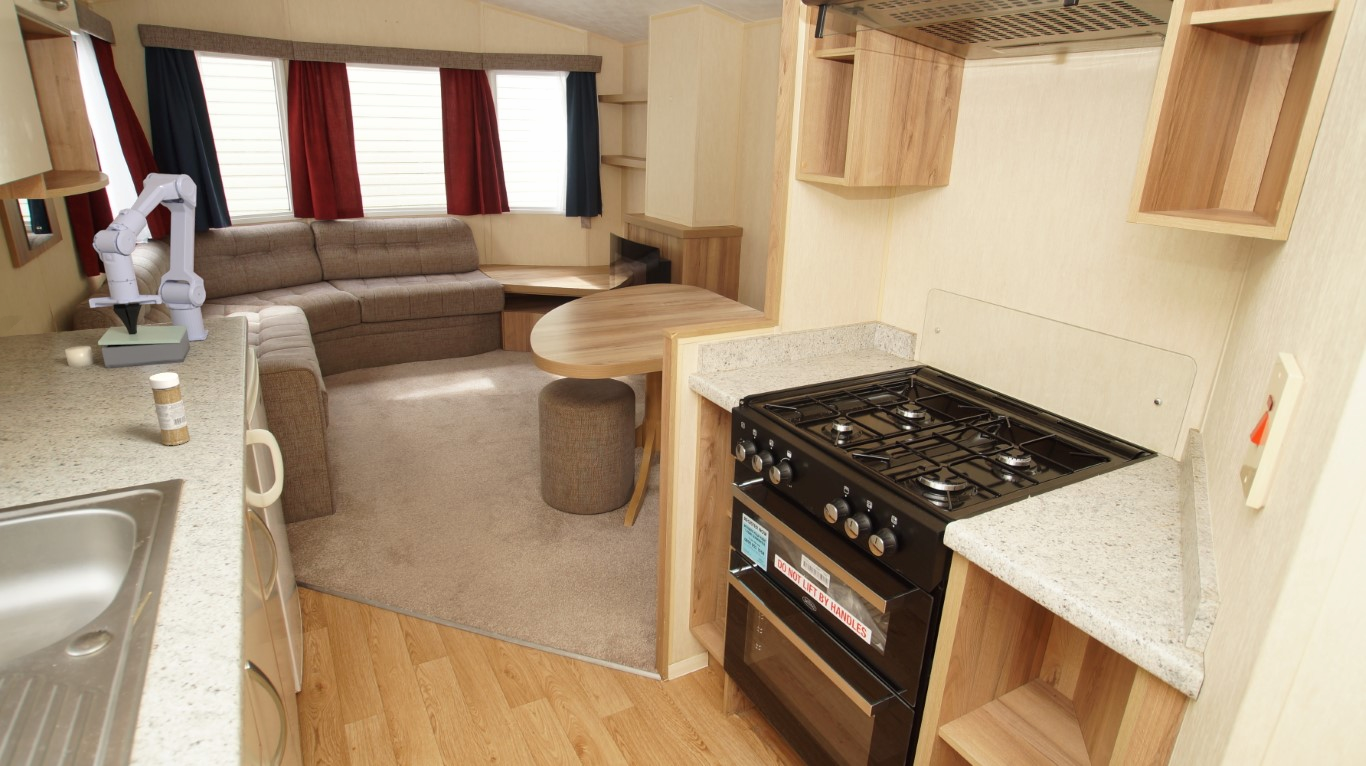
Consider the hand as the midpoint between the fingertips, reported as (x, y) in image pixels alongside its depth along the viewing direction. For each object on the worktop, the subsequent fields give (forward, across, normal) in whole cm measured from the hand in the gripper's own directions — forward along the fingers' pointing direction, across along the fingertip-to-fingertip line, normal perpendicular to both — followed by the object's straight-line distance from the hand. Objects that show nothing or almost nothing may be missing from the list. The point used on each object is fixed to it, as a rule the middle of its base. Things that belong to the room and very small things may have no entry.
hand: (133, 333), depth 189 cm
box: (+6, +2, 0) cm, 7 cm away
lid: (+1, +2, 0) cm, 3 cm away
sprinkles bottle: (+7, +15, -63) cm, 65 cm away
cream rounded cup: (+7, -12, -1) cm, 13 cm away
